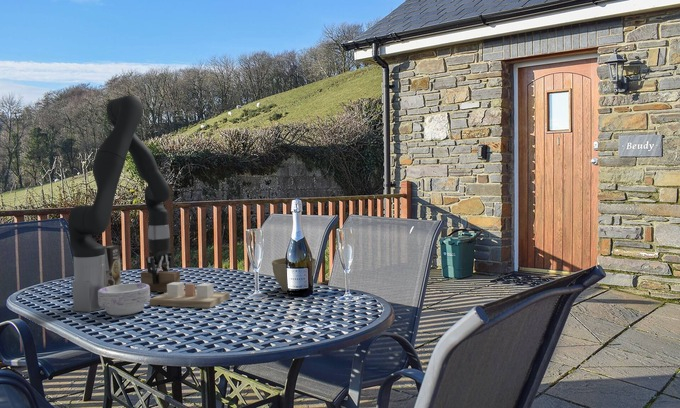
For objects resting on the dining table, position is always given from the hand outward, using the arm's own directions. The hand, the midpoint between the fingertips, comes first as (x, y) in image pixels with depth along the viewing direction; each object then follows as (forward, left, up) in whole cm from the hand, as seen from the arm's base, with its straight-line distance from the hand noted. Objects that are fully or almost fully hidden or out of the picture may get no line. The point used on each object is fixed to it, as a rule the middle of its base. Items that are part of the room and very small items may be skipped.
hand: (160, 282), depth 207 cm
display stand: (-15, -21, -3) cm, 26 cm away
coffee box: (-1, +22, -3) cm, 22 cm away
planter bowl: (+10, -49, -3) cm, 50 cm away
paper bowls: (-32, -8, -3) cm, 33 cm away
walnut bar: (0, 0, -3) cm, 3 cm away
